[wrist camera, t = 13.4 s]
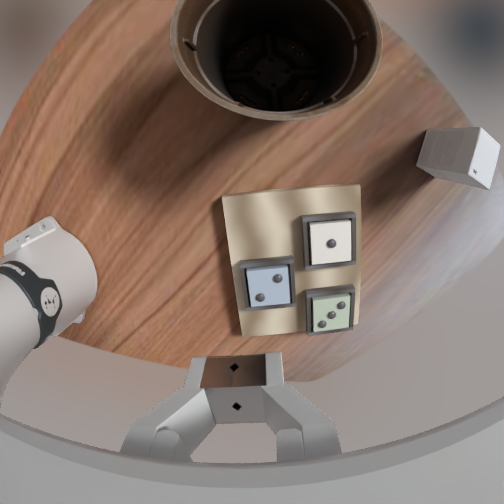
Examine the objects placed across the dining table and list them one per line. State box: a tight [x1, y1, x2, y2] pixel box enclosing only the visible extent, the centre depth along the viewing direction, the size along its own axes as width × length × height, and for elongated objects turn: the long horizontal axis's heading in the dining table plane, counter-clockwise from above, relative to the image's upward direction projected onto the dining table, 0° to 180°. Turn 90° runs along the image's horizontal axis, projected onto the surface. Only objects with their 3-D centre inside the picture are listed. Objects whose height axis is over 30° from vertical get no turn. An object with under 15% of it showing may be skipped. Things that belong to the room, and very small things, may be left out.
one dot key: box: [308, 218, 351, 265], centre depth 35 cm, size 5×5×2 cm
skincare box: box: [416, 127, 500, 190], centre depth 28 cm, size 6×4×12 cm
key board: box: [222, 183, 361, 337], centre depth 38 cm, size 17×20×4 cm
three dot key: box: [311, 293, 350, 332], centre depth 38 cm, size 5×5×2 cm
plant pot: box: [170, 0, 383, 121], centre depth 24 cm, size 16×16×16 cm
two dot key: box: [247, 264, 290, 307], centre depth 37 cm, size 5×5×2 cm
